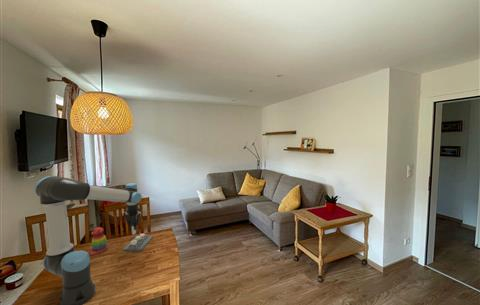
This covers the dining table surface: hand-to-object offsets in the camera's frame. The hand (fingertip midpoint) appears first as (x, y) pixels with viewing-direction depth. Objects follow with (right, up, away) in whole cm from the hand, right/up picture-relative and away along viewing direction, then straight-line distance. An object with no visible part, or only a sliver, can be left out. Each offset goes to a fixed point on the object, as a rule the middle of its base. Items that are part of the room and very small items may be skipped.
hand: (133, 233), depth 158 cm
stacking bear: (-25, -12, -2) cm, 28 cm away
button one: (0, -9, +1) cm, 9 cm away
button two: (0, -8, +7) cm, 11 cm away
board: (0, -11, +7) cm, 13 cm away
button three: (0, -9, +14) cm, 16 cm away
